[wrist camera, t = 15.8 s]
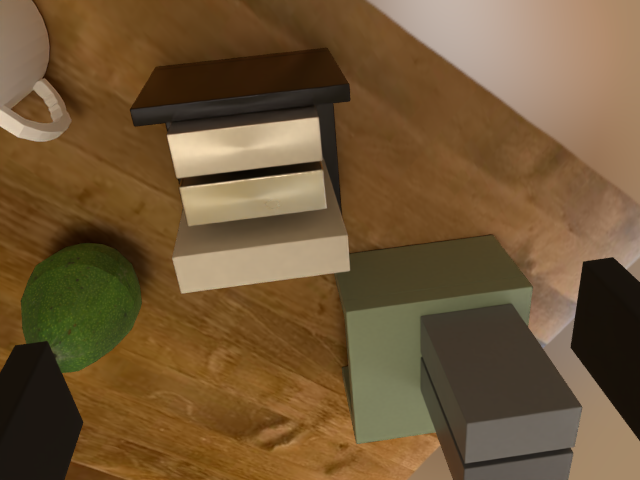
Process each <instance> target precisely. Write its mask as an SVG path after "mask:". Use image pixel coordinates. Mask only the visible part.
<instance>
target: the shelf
mask: <svg viewBox="0 0 640 480" xmlns="http://www.w3.org/2000/svg"><path fill="white" fill-rule="evenodd" d="M349 260H350V271H346V272H338V273H334V275H335V279H336V284H337V288H338V292H339V296H340V300H341V304H342V308H343V313H344V318H345V330H346V343H347V355H348V367H342V374H343V381H344V386H345V391H346V396H347V401H348V406H349V411H350V415H351V420H352V425H353V430H354V435H355V440H356V443H357V444H361V443H367V442H374V441H381V440H388V439H394V438H401V437H408V436H414V435H421V434H428V433H434V432H436V434H437V437H438V439H439V442H440V445H441V448H442V450H443V453H444V456H445V459H446V461H447V464H448V467H449V470H450V472H451V475H452V478H453V480H568V478H569V473H570V468H571V462H572V457H573V452H572V450H571V447H574V446H575V442H576V437H577V432H578V427H579V422H580V417H581V412H582V406H581V404H580V403H579V401H578V400H577V398H576V397H575V395H574V394H573V393H572V391H571V389H570V388H569V387H568V385H567V384H566V382H565V381H564V379H563V378H562V376H561V375H560V374H559V372H558V370H557V369H556V367H555V366H554V365H553V363H552V362H551V360H550V359H549V357H548V356H547V354H546V353H545V351H544V350H543V348H542V347H541V345H540V344H539V342H538V341H537V339H536V338H535V337H534V335H533V334H532V332H531V331H530V329H529V328H528V323H529V314H530V306H531V298H532V289H533V286H532V285H531V284H530V282H529V281H528V280H527V278H526V277H525V276H524V275H523V273H522V272H521V271H520V269H519V268H518V267H517V265H516V264H515V263H514V261H513V260H512V259H511V258H510V256H509V255H508V254H507V252H506V251H505V250H504V248H503V247H502V246H501V245H500V243H499V242H498V241H497V239H496V238H495V237H494V235H488V236H481V237H473V238H466V239H458V240H450V241H443V242H435V243H428V244H420V245H412V246H405V247H397V248H390V249H382V250H374V251H367V252H359V253H352V254H349Z"/></svg>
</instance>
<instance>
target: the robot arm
mask: <svg viewBox="0 0 640 480" xmlns="http://www.w3.org/2000/svg"><path fill="white" fill-rule="evenodd" d="M571 349H572V350H573V351H574V353H575V354H576V356H577V357H578V358H579V359H580V361H581V362H582V364H583V365H584V366H585V367H586V369H587V370H588V372H589V373H590V374H591V376H592V377H593V378H594V380H595V381H596V382H597V384H598V385H599V387H600V388H601V389H602V391H603V392H604V393H605V395H606V396H607V397H608V399H609V400H610V401H611V403H612V404H613V405H614V407H615V408H616V409H617V411H618V412H619V414H620V415H621V416H622V418H623V419H624V420H625V422H626V423H627V424H628V426H629V427H630V428H631V430H632V431H633V432H634V434H635V435H636V436H637V438H638V439H639V441H640V282H639V281H638V280H637V279H636V278H635V277H634V276H632V275H631V274H630V273H629V272H628V271H627V270H626V269H625V268H624V267H623V266H622V265H621V264H620V263H619V262H618V261H617V260H616V259H614V258H613V257H612V258H605V259H598V260H592V261H585V262H583V266H582V273H581V280H580V287H579V293H578V300H577V307H576V314H575V321H574V328H573V335H572V342H571ZM82 425H83V420H82V418H81V416H80V414H79V411H78V409H77V407H76V404H75V402H74V400H73V398H72V395H71V393H70V391H69V388H68V386H67V384H66V382H65V379H64V377H63V375H62V372H61V370H60V368H59V366H58V363H57V361H56V359H55V356H54V354H53V352H52V350H51V347H50V345H49V343H48V341H43V342H36V343H29V344H23V345H16V346H15V347H14V349H13V350H12V352H11V354H10V356H9V358H8V360H7V361H6V363H5V365H4V367H3V369H2V370H1V372H0V480H64V479H65V476H66V473H67V470H68V467H69V464H70V461H71V458H72V455H73V452H74V449H75V446H76V443H77V440H78V437H79V434H80V431H81V428H82Z"/></svg>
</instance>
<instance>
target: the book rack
mask: <svg viewBox="0 0 640 480" xmlns="http://www.w3.org/2000/svg"><path fill="white" fill-rule="evenodd" d="M348 101H350V86H349V83H348V81H347V80H346V78H345V76H344V75H343V73H342V71H341V70H340V68H339V66H338V65H337V63H336V61H335V60H334V58H333V56H332V55H331V53H330V51H329V50H328V48H320V49H311V50H302V51H294V52H285V53H276V54H267V55H258V56H249V57H240V58H231V59H222V60H214V61H205V62H196V63H187V64H178V65H169V66H160V67H155V69H154V71H153V72H152V74H151V76H150V77H149V79H148V80H147V82H146V84H145V85H144V87H143V89H142V90H141V92H140V94H139V95H138V97H137V99H136V100H135V102H134V104H133V105H132V107H131V109H130V112H131V116H132V120H133V124H134V126H135V127H136V126H144V125H153V124H161V123H165V124H166V128H167V132H168V133H167V140H168V144H169V148H170V153H171V157H172V161H173V166H174V170H175V174H176V178H178V181H179V191H180V196H181V200H182V204H183V209H184V213H185V217H186V222H187V226H188V227H190V226H198V225H206V224H214V223H222V222H230V221H238V220H245V219H253V218H261V217H269V216H277V215H285V214H293V213H300V212H308V211H316V210H324V209H327V202H326V191H325V180H324V170H323V166H322V163H321V161H322V160H323V159H324V161H325V164H326V167H327V171H328V174H329V177H330V180H331V183H332V187H333V190H334V193H335V196H336V199H337V203H338V206H339V209H340V212H341V215H342V211H341V198H340V185H339V172H338V159H337V146H336V132H335V119H334V106H333V103H340V102H348Z"/></svg>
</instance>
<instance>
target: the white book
mask: <svg viewBox="0 0 640 480" xmlns="http://www.w3.org/2000/svg"><path fill="white" fill-rule="evenodd" d="M321 163H322V166H323V170H324V180H325V191H326V202H327V209H324V210H316V211H308V212H300V213H293V214H285V215H277V216H269V217H261V218H253V219H245V220H238V221H230V222H222V223H214V224H206V225H198V226H190V227H188V226H187V222H186V217H185V213H184V209H183V211H182V216H181V221H180V225H179V230H178V234H177V239H176V243H175V248H174V252H173V257H172V259H173V263H174V267H175V271H176V275H177V279H178V283H179V287H180V291H181V293H188V292H196V291H203V290H211V289H218V288H226V287H233V286H241V285H248V284H256V283H263V282H271V281H278V280H286V279H293V278H301V277H308V276H316V275H323V274H331V273H338V272H346V271H350V260H349V246H348V235H347V231H346V228H345V225H344V222H343V219H342V215H341V212H340V209H339V206H338V203H337V199H336V196H335V193H334V190H333V187H332V183H331V180H330V177H329V174H328V171H327V167H326V164H325V161H324V159H323V160H322V161H321Z"/></svg>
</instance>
